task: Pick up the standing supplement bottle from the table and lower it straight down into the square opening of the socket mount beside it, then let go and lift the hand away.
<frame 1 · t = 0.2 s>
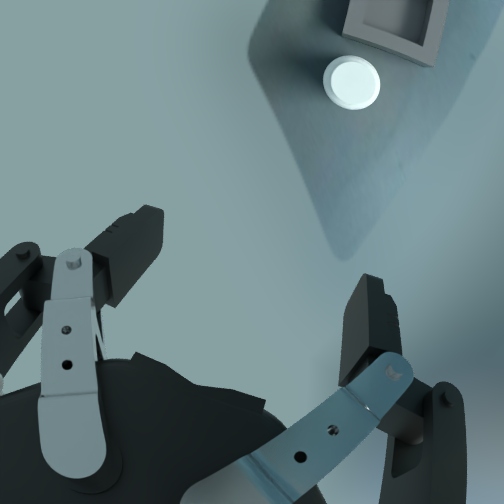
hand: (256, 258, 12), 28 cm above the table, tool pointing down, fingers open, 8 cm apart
supplement bottle: (348, 80, 30), on the table
socket mount: (393, 14, 24), on the table
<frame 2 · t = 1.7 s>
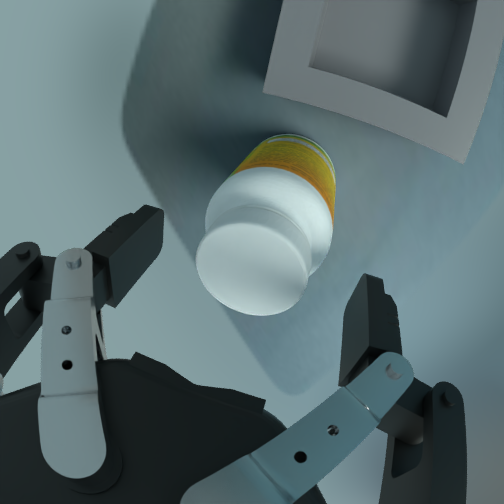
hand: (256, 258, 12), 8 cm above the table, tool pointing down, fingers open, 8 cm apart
supplement bottle: (291, 174, 19), on the table
socket mount: (386, 32, 12), on the table
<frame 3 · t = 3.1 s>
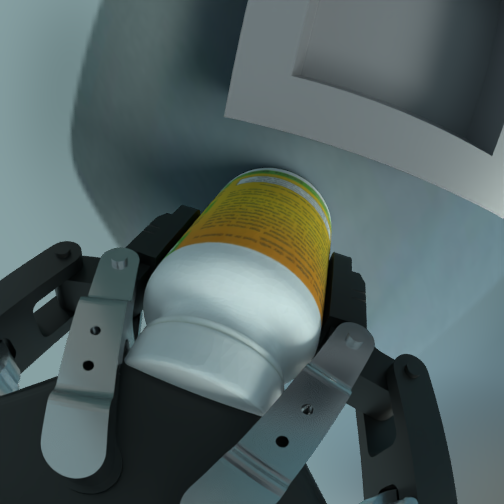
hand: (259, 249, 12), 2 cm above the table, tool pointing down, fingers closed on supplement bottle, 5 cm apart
supplement bottle: (273, 219, 15), on the table, touching gripper
socket mount: (405, 27, 8), on the table
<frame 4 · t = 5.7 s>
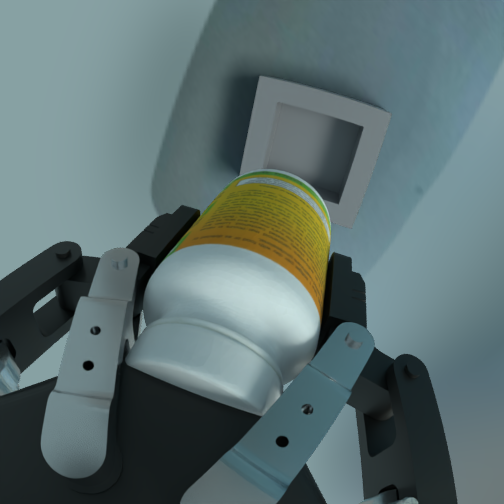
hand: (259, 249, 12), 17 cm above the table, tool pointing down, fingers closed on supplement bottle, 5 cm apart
supplement bottle: (273, 220, 15), point 14 cm above the table, touching gripper
socket mount: (313, 144, 26), on the table
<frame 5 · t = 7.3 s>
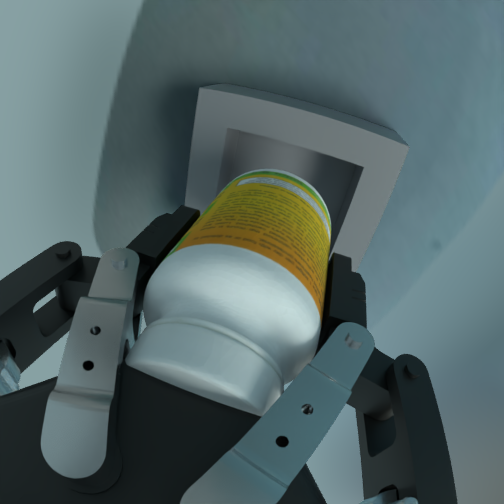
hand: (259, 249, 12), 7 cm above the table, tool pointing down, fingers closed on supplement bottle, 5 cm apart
supplement bottle: (273, 219, 15), point 5 cm above the table, touching gripper
socket mount: (289, 182, 19), on the table
when the fingers open (5 cm above the table, at t = 8.6 s): supplement bottle drops 1 cm, resting on socket mount.
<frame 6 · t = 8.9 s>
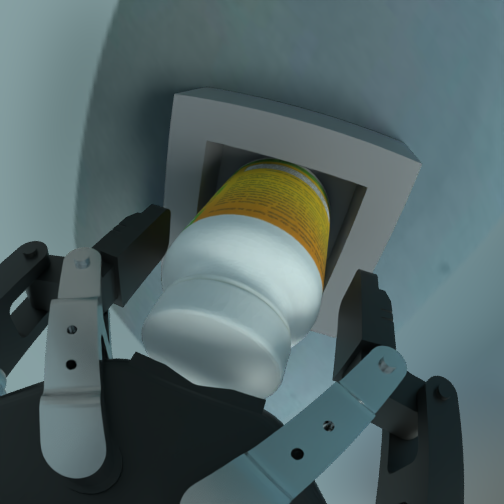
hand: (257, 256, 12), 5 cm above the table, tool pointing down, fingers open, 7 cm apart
supplement bottle: (277, 205, 16), point 1 cm above the table, touching socket mount
socket mount: (281, 199, 16), on the table
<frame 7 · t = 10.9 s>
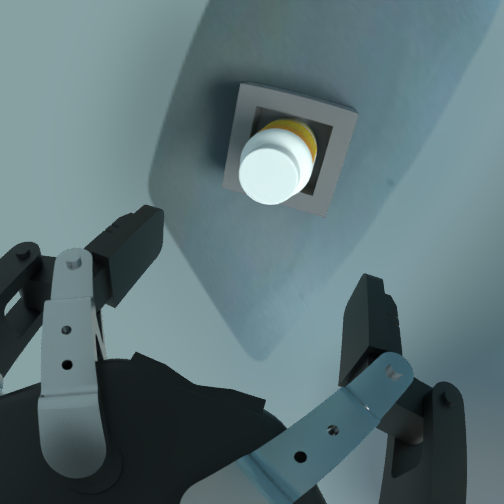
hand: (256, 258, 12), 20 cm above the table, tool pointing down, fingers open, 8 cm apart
supplement bottle: (289, 143, 28), point 1 cm above the table, touching socket mount
socket mount: (291, 142, 29), on the table
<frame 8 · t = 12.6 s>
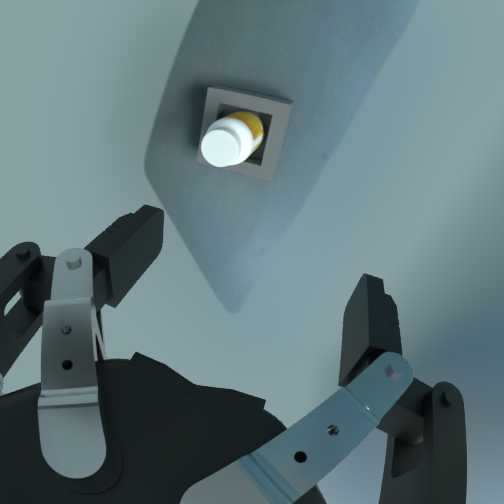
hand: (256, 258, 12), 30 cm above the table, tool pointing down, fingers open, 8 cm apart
supplement bottle: (245, 129, 38), point 1 cm above the table, touching socket mount
socket mount: (247, 128, 39), on the table
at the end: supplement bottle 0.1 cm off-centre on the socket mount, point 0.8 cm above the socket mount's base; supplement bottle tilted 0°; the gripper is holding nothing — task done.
